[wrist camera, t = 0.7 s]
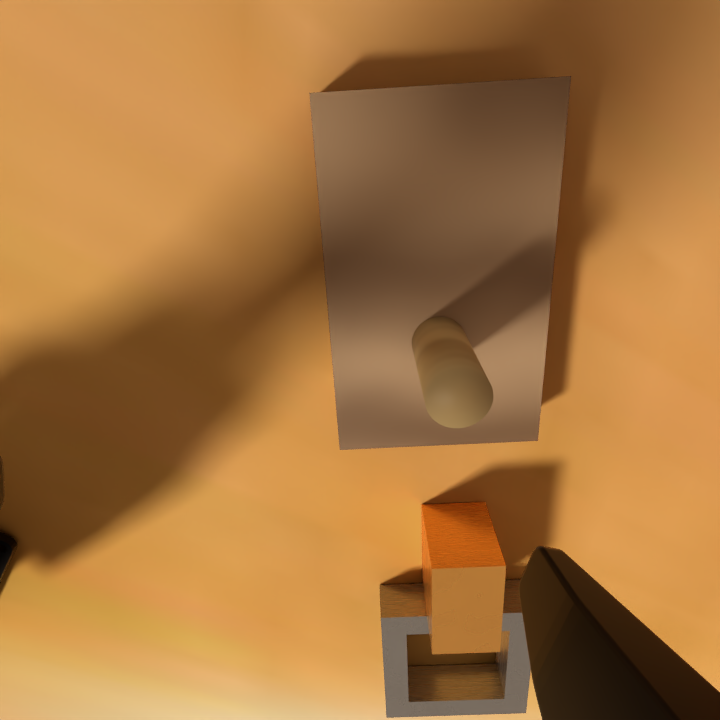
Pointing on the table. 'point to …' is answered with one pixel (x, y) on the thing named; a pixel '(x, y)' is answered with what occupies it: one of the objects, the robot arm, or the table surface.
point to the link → (456, 622)
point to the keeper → (439, 256)
